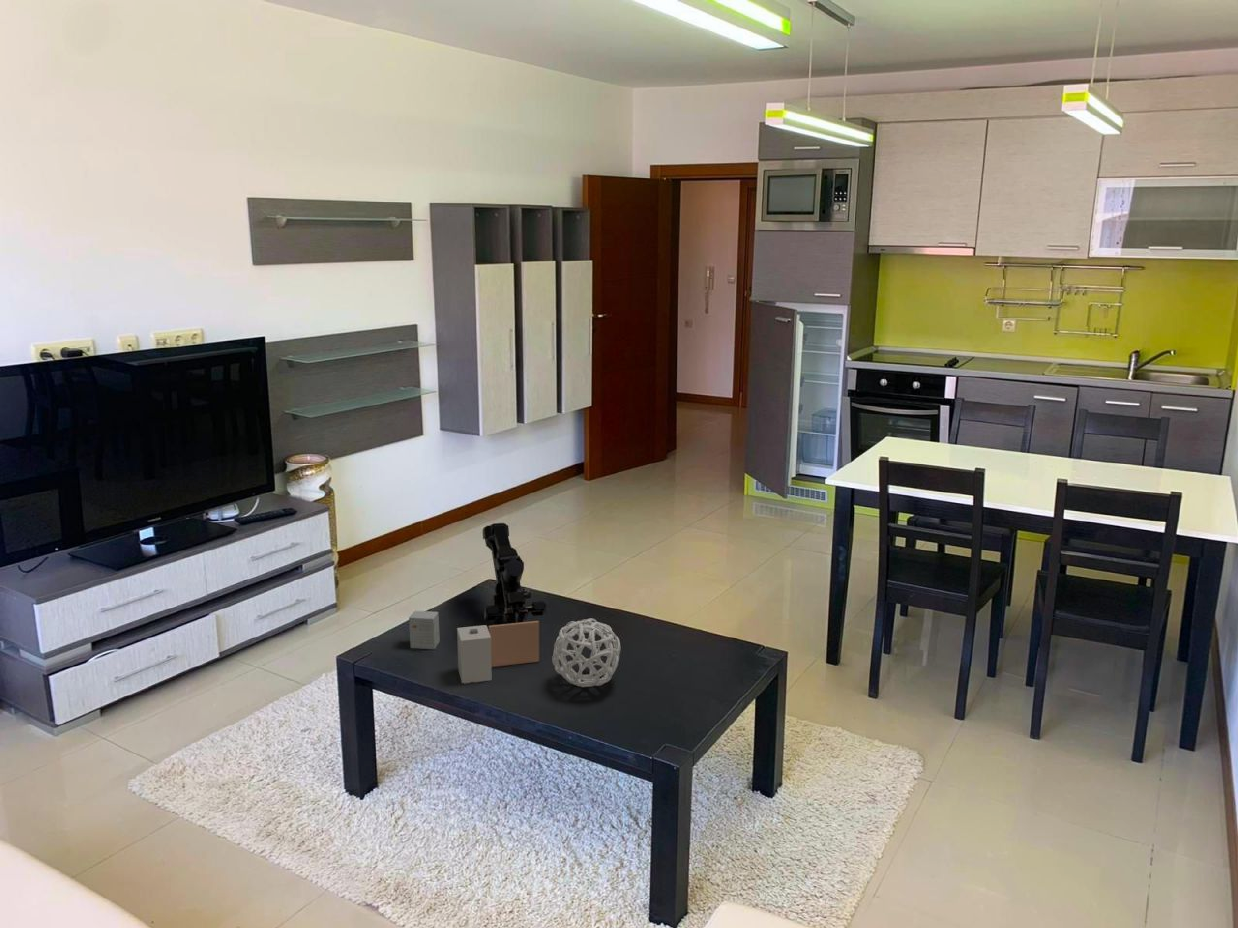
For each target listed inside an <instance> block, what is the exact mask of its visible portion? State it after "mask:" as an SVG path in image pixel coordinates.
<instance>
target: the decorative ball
mask: <svg viewBox="0 0 1238 928" xmlns="http://www.w3.org/2000/svg"><path fill="white" fill-rule="evenodd" d="M569 630H570V631H569ZM586 633H587V634H588V638H586V636H585V634H586ZM576 635H577V636H578V639H577V640H575V639H574V638H573V637H575V636H576ZM596 635H598V636H599V637H601V639H599V640H595V636H596ZM569 644H570V646H571V647H572V649H567V648H568V645H569ZM602 644H604V646H605V648H603V649H602V650H601V646H602ZM577 646H579V647H577ZM585 647H587V649H589V650H590V651H591V652H590V656H589V657H588V658H587V657H585V656H584V655H583V654H582V652H583V650H584V648H585ZM621 649H622V648H621V643H620V639H619V637H618V636H617V635H616V633H615V632H614V631H613V628H612V627H611V626H610V625H608V624H606V623H602V622H599V621H597V620H596V619H595V618H591V617H590V618H587V619H581V620H578V621H574V620H572V621H569V622H567V623H566V625H564V626H562V627H561V628H560V630H559V633H558V637H557V638H556V641H555V642H554V645H553V655H552V656H551V661H552V662H551V663H552V664H553V666H554V670H555V672H556V673H557V674H559V675H561V676H562V678H564V680H566V681H567V682H568V683H570V684H572V685H574V686H577V687H580V688H587V687H588V688H590V687H592V688H593V687H594V686H595V687H600V686H602V685H604V684H606V683H608V682H610V681H611V679H612V677H613V675H614V674H615V672H616V670H617V668H618V665H619V660H620V653H621ZM567 656H570V657H571V658H572V660H567V658H566V657H567ZM603 656H605V657H606V661H605V662H604V661H602V657H603ZM575 665H577V666H578V671H577V672H576V670H574V669H573V666H575ZM595 666H600V667H601V668H599V669H598V670H597V668H596V667H595ZM586 668H588V669H589V674H583V672H584V670H585V669H586ZM600 677H601V678H600Z"/></svg>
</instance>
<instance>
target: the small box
mask: <svg viewBox="0 0 1238 928" xmlns="http://www.w3.org/2000/svg"><path fill="white" fill-rule="evenodd" d="M439 619H440V617H439V611H430V610H429V611H427V610H426V611H425V610H414V611H413V612H412V613H411V615H410V616H409V617H408V621H409V624H408V625H409V641H410V648H411V649H423V650H424V649H425V650H436V649H437V647H438V645H439V644H440V641H441V640H440V637H441V635H440V622H439V621H440V620H439Z"/></svg>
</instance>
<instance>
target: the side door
mask: <svg viewBox="0 0 1238 928" xmlns="http://www.w3.org/2000/svg"><path fill="white" fill-rule="evenodd" d="M488 631H489V633H490V636H491V664H492V668H493V667H504V666H511V665H512V666H513V665H521V664H528V663H530V664H531V663H537V662H540V621H539V620H533V621H523V622H521V623H517V622H516V623H511V624H501V625H494V624H492V625H488Z"/></svg>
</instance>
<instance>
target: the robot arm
mask: <svg viewBox="0 0 1238 928" xmlns="http://www.w3.org/2000/svg"><path fill="white" fill-rule="evenodd" d="M509 528H510V527H509V525H508V524H506V523H504V522H495V523H494V522H493V523H492V524H490V525H486V526H484V527H483V528H482V540H484V541H485V546H486V547H487V548H488V549H489V550H490V551H491V556H492V560H493V567H494V572H495V574H494V575H495V579H496V580H495V581H496V585H495V588H494V592H493V594H494V595H492V598H491V605H487V606H486V607H485V608H484V612H483V618H484V621H485V622H492V621H494V622H493V623H494V624H493V625H501V624H511V623H521V622H524V620H527V619H528V616H529V613H530V614H531V615H532V617H540V616H542V617H543V616H544V615H545V614H546V611H547V604H546V602H545V601H544V600H539V601H537V600H536V601H532V603H531V605H526V600H527V599H529V600H530V599H531V598H532V593H531V588H530V587H525V588H523V590H522V586H521V580H522V577H523V574H524V570H525V562H524V561H523V560H522V558H521V556H520V555H519V553H518V551H517V549H516V548H513V547H512V546H511V542H510V539H509V537H510V529H509ZM525 605H526V606H525ZM516 614H517V615H516ZM516 617H517V618H516Z"/></svg>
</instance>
